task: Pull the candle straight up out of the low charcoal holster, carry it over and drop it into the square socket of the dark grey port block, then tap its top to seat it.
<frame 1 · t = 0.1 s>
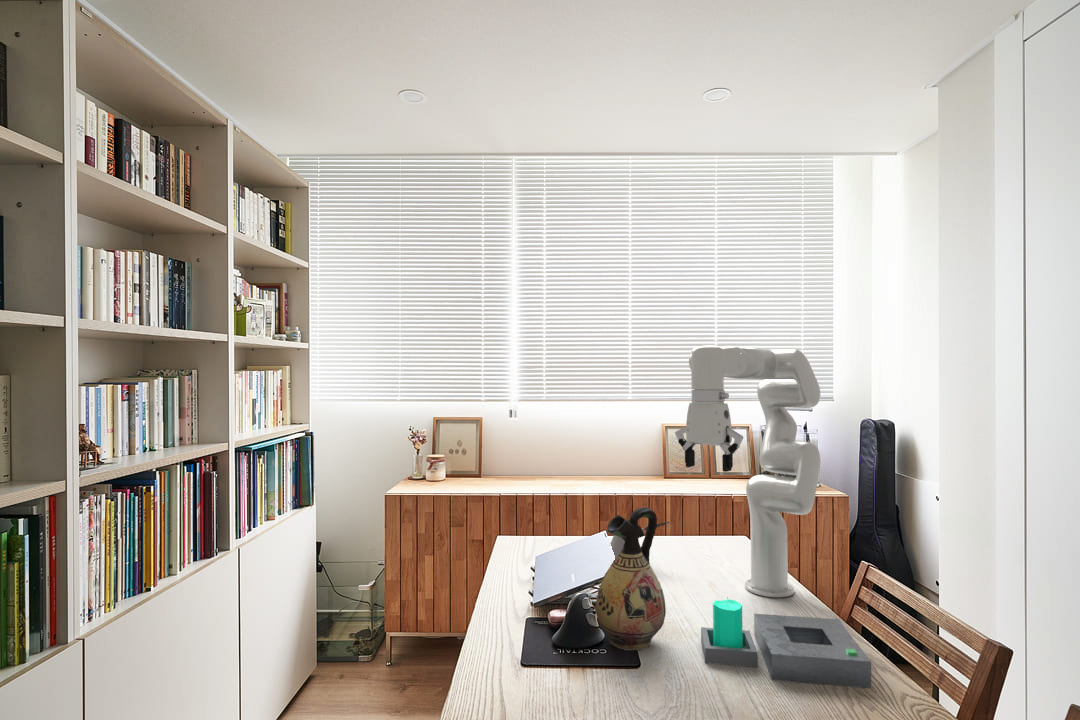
hand: (708, 468, 143), 37 cm above the table, tool pointing down, fingers open, 9 cm apart
port block: (807, 659, 125), on the table
holster: (728, 653, 128), on the table
ceramic jug: (634, 642, 133), on the table
candle: (728, 654, 128), resting in holster
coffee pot: (639, 565, 187), on the table
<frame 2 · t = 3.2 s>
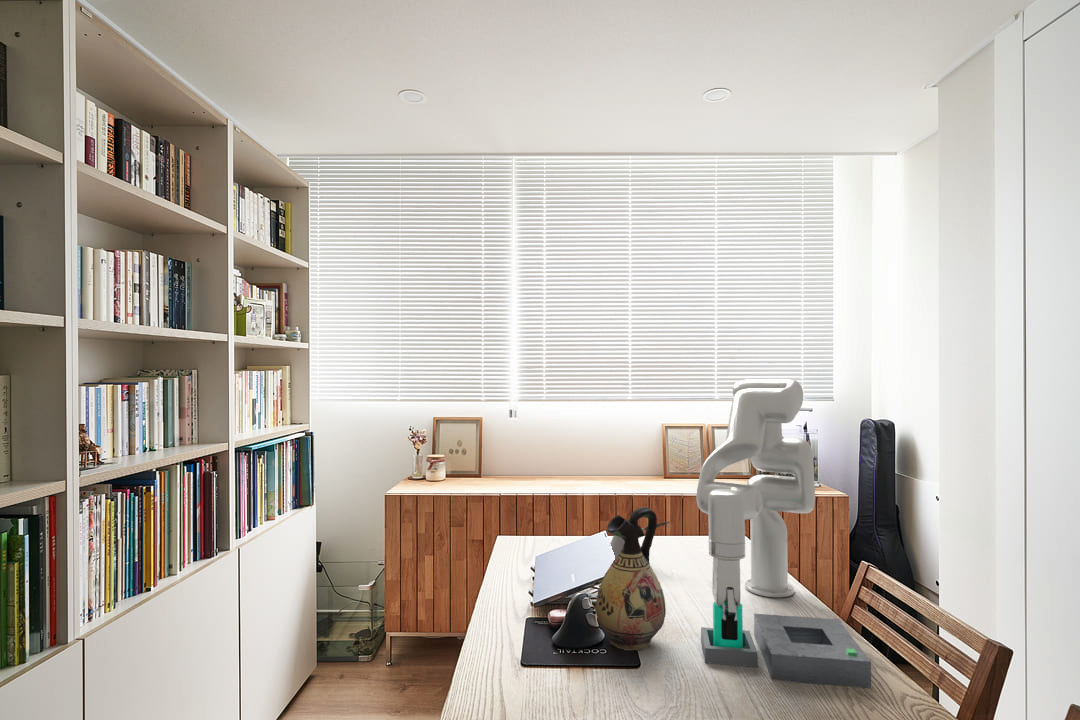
hand: (727, 632, 128), 4 cm above the table, tool pointing down, fingers closed on candle, 5 cm apart
candle: (728, 654, 128), resting in holster, touching gripper
everything else where it was.
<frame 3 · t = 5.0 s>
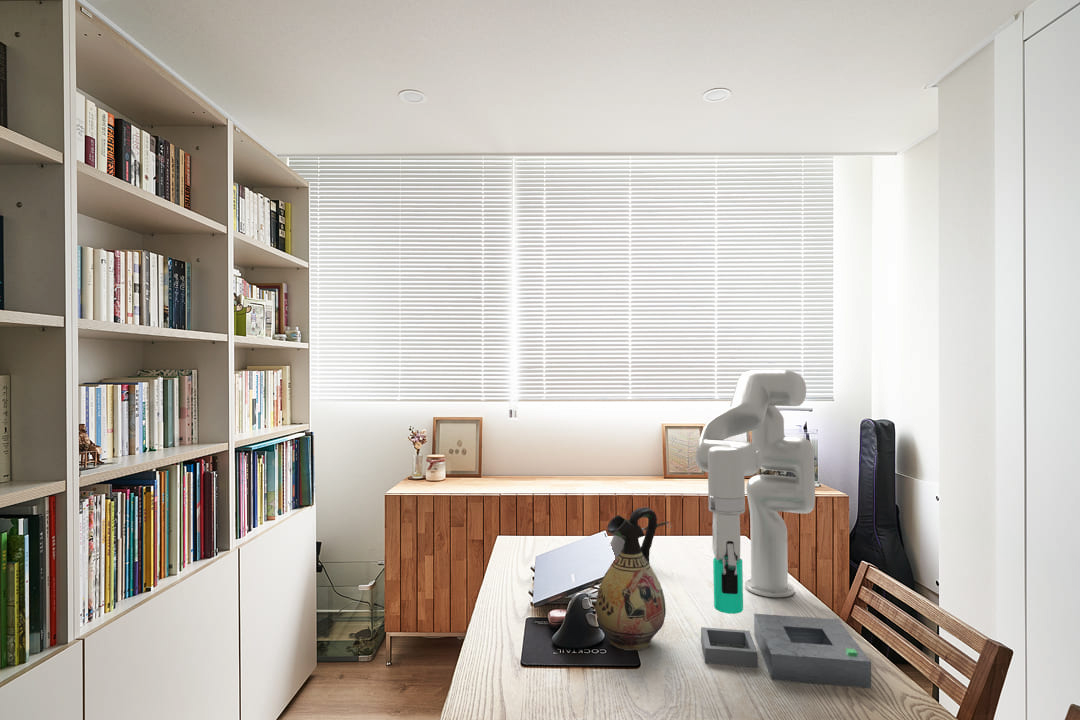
hand: (728, 586, 129), 14 cm above the table, tool pointing down, fingers closed on candle, 5 cm apart
candle: (728, 608, 128), point 9 cm above the table, touching gripper
everything else where it was.
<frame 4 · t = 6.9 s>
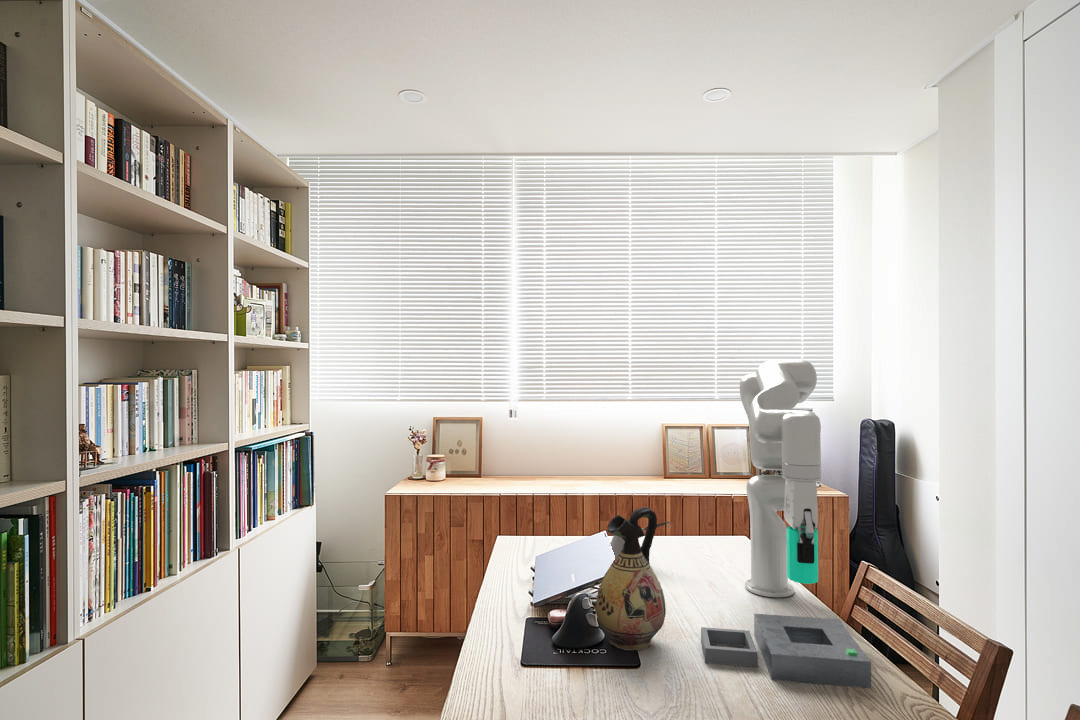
hand: (802, 557, 126), 21 cm above the table, tool pointing down, fingers closed on candle, 5 cm apart
candle: (802, 579, 125), point 17 cm above the table, touching gripper
everything else where it was.
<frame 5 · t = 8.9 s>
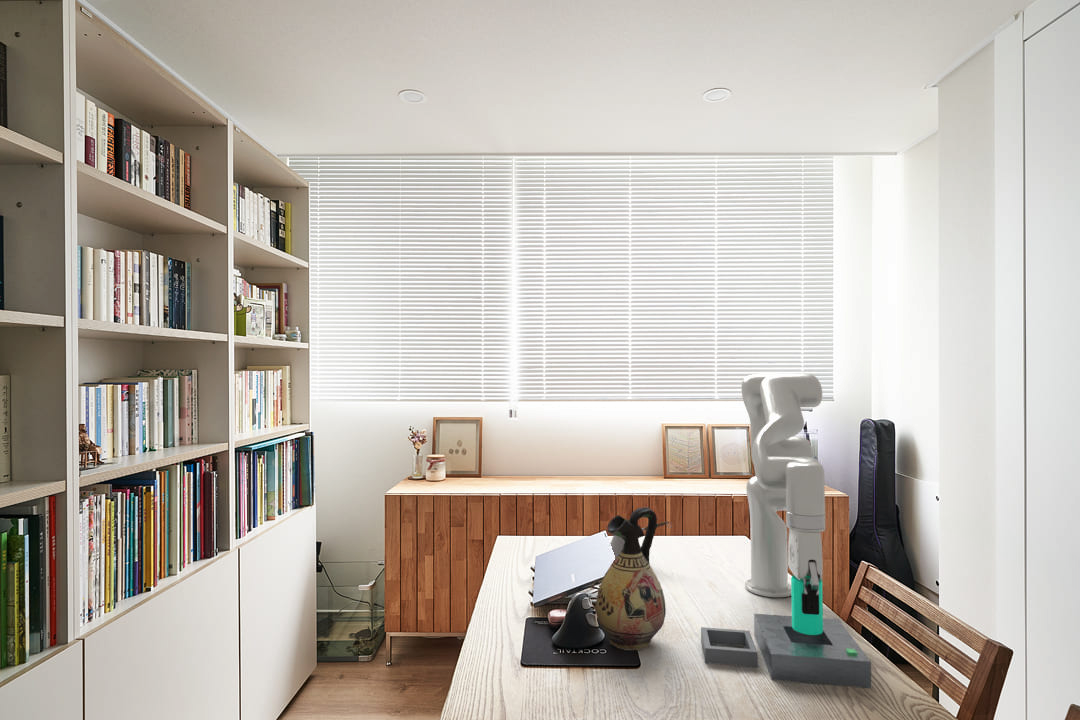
hand: (806, 607, 125), 11 cm above the table, tool pointing down, fingers closed on candle, 5 cm apart
candle: (807, 629, 125), point 6 cm above the table, touching gripper
everything else where it was.
when the fingers open (7 cm above the table, at t = 10.2 s): candle drops 2 cm, resting in port block.
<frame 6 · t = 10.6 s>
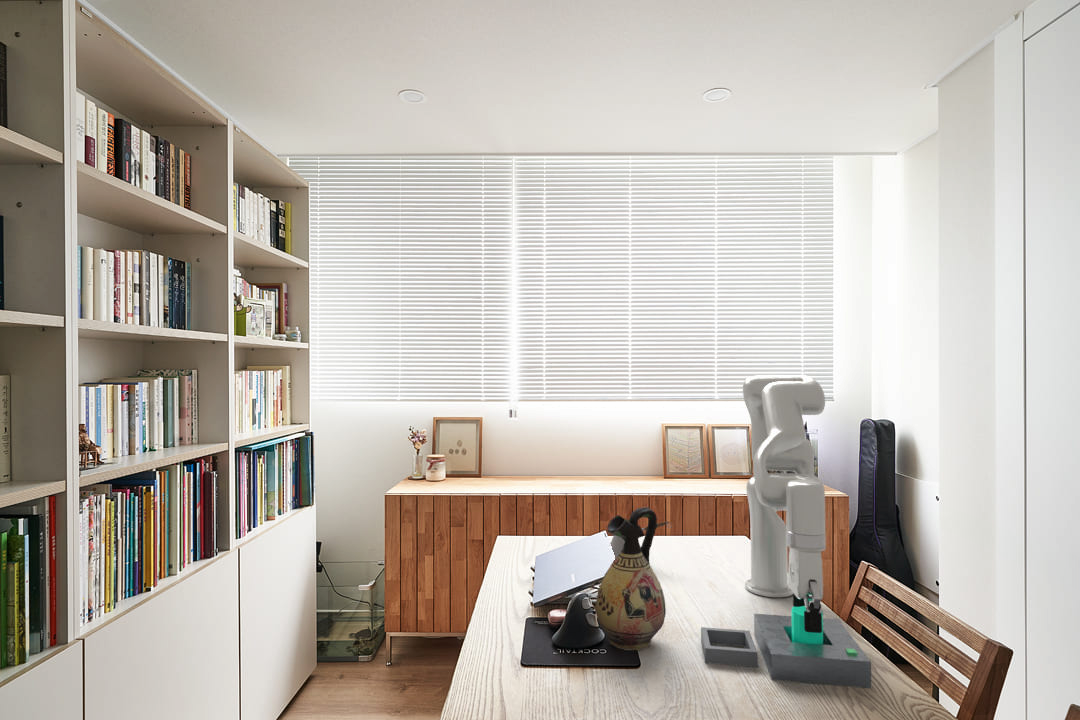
hand: (806, 622, 125), 8 cm above the table, tool pointing down, fingers open, 9 cm apart
candle: (807, 662, 124), resting in port block
everything else where it was.
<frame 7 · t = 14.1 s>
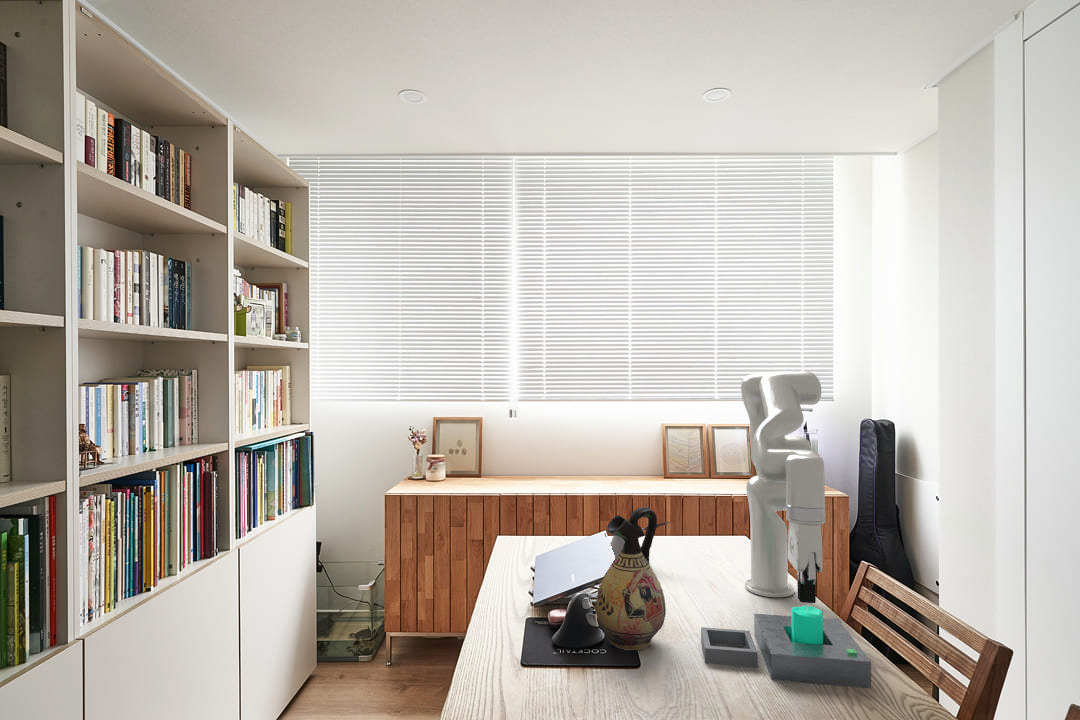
hand: (806, 601, 125), 12 cm above the table, tool pointing down, fingers closed
nothing on the table moved.
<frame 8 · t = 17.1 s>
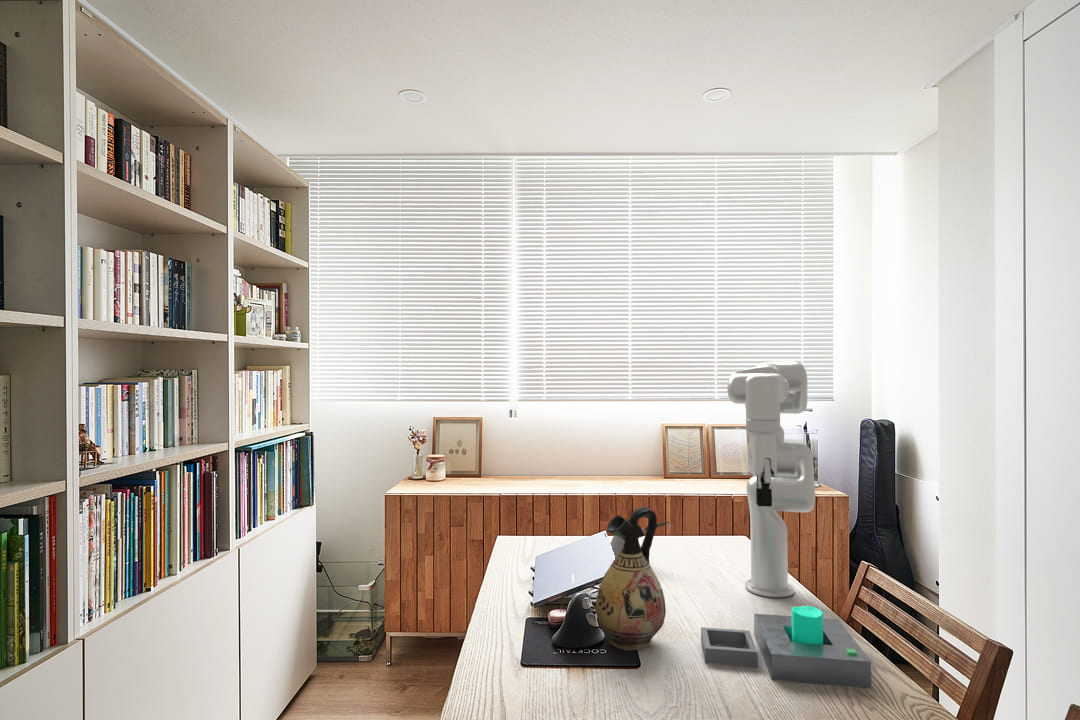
hand: (764, 505, 139), 29 cm above the table, tool pointing down, fingers closed
nothing on the table moved.
at the end: candle 0.8 cm off-centre on the port block, point 0.0 cm above the port block's base; candle tilted 0°; the gripper is holding nothing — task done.
